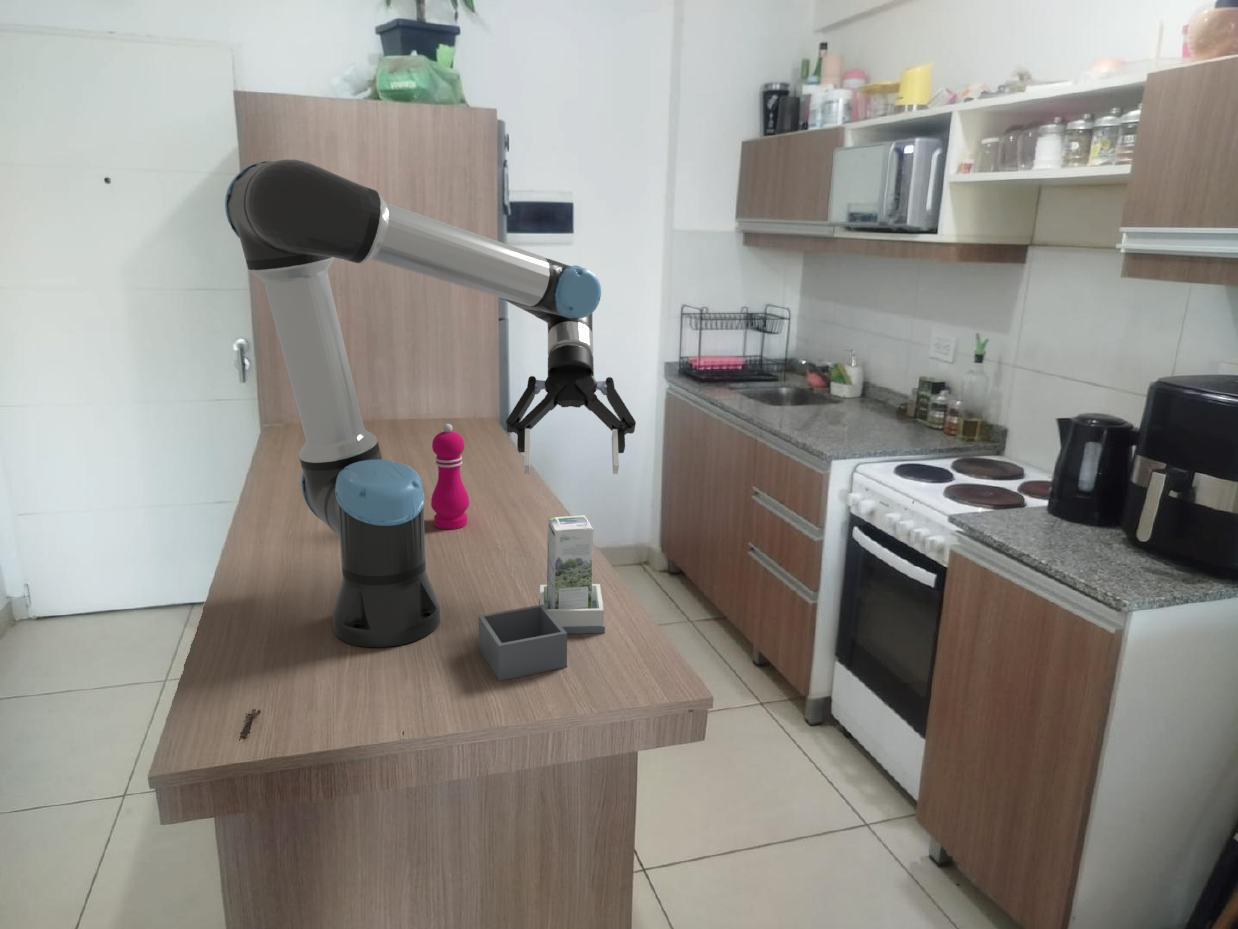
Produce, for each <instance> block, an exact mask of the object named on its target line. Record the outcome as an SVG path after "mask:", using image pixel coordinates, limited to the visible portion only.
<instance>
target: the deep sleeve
mask: <svg viewBox="0 0 1238 929" xmlns="http://www.w3.org/2000/svg"><path fill="white" fill-rule="evenodd" d="M478 646H479V647H478V648H479V651H480V652H481V653H482V655H483V657H484V658H485V660H486V662H487V663H488V665H489V666H490V668H491V670H492V671H493V673H494V675H495V676H496V678H497V679H498V681H500V682H501V681H504V680H509V679H514V678H519V677H524V676H529V675H533V674H539V673H544V672H549V671H553V670H558V669H564V668H567V667H568V633H567V632H566V631H565V630H564V629H563V628H562V626H561V625H560V624H559V623H558V622H557V621H556V619H555V618H554V617H553V616H552V615H551V613H550V612H549V611H548V610H547V609H546V608H545V606H544V605H539V604H538V605H531V606H526V607H520V608H515V609H508V610H504V611H497V612H492V613H486V614H485V613H484V614H480V615H478Z"/></svg>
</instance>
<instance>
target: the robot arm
mask: <svg viewBox="0 0 1238 929" xmlns="http://www.w3.org/2000/svg"><path fill="white" fill-rule="evenodd" d="M224 210H225V216H226V219H227V221H228V224H229V225H230V226H231V230H232V231H233V232H234V234H235V235H236V237H238V239H240V240H239V241H240V244H241V247H242V248H241V249H242V252H243V254H244V259H245V262H246V267H247V269H248V272H249V273H251V274H252V275H254V276H256V277H257V278H259V279H260V280H261V281H262V282H263V283H264V288H265V292H266V295H267V300H268V303H269V308H270V311H271V313H272V314H271V315H272V319H273V321H274V322H273V323H274V326H275V329H276V333H277V336H278V341H279V344H280V349H281V353H282V356H283V359H284V363H285V368H286V370H287V374H288V375H287V376H288V378H289V382H290V385H291V390H292V393H293V396H294V397H293V398H294V401H295V403H296V404H295V405H296V408H297V412H298V415H299V420H300V423H301V428H302V431H303V435H304V438H305V443H304V444H303V445H302V447H301V449H300V450H299V452H298V458H299V461H300V465H301V470H302V473H301V478H300V479H301V480H300V487H301V492H302V496H303V497H302V498H304V501H305V503H306V505H307V507H308V509H309V510H310V511H311V512H312V513H313V514H314V516H316V517H317V518H318V519H320V520H321V521H322V522H323V523H324V524H325V525H326V526H327V527H328V528H329V529H330V530H332V531H333V532H334V533H335V534H336V535H337V536H338V537H339V543H340V545H339V546H340V559H341V569H342V570H341V571H342V572H341V574H342V580H341V583H340V586H339V590H338V593H337V598H336V601H335V603H334V608H333V611H332V629H333V632H334V634H335V636H336V637H337V638H338V639H339V640H341V641H343V642H345V643H347V644H350V645H354V646H357V647H358V646H359V647H363V648H365V647H366V648H388V647H394V646H400V645H404V644H409V643H412V642H415V641H418V640H420V639H423V638H424V637H427V636H428V635H429V634H431V633H432V632H434V631H435V630H436V629H437V628H438V626H439V624H440V622H441V611H440V608H441V607H440V603H439V599H438V597H437V595H436V592H435V589H434V588H433V587H434V586H433V585H432V583H431V580H430V578H429V576H428V573H427V566H426V563H427V562H426V540H425V538H426V537H425V536H426V535H425V534H426V532H425V493H424V489H423V484H422V483H423V482H422V478H421V476H420V474H419V473H418V472H417V470H415V469H414V468H413V467H412V466H410V465H407V464H405V463H403V462H399V461H398V462H393V460H391V459H390V460H389V459H383V457H382V453H381V449H380V444H379V441H378V440H379V439H378V438H377V437H378V436H377V435H375V434H374V433H372V432H370V431H368V430H367V429H365V426H364V421H363V418H362V413H361V409H360V405H359V401H358V396H357V393H356V388H355V384H354V380H353V375H352V371H351V366H350V362H349V359H348V354H347V349H346V345H345V342H344V338H343V337H344V336H343V333H342V329H341V324H340V320H339V317H338V311H337V307H336V302H335V299H334V296H333V292H332V286H331V282H330V278H329V273H328V271H329V268H330V267H331V265H332V263H333V262H334V260H335V259H339V260H340V259H341V260H344V261H348V262H351V263H355V264H358V265H360V264H363V263H365V262H367V261H369V260H373V261H376V262H379V263H381V264H385V265H389V266H392V267H396V268H399V269H403V270H406V271H409V272H413V273H416V274H419V275H423V276H427V277H431V278H433V279H436V280H440V281H443V282H446V283H450V284H453V285H457V286H460V287H463V288H467V289H470V290H473V291H477V292H481V293H484V294H488V295H491V296H494V297H498V298H500V300H502V301H505V302H507V303H509V304H511V305H513V306H515V307H517V308H519V309H521V310H523V311H525V312H527V313H529V314H531V315H533V316H534V317H536V318H537V319H540V320H542V321H544V322H545V323H546V324H547V356H548V357H547V377H546V380H542V379H541V380H539V379H537V378H536V376H534V375H531V376H529V377H528V380H527V385H526V388H525V390H524V392H522V395H521V396H520V398H519V399H518V401H517V403H516V404H515V406H514V408H513V409H512V411H511V413H510V414H509V416H508V417H507V419H506V421H505V423H506V431H507V432H508V433H515V434H516V435H517V440H516V442H517V443H516V444H517V447H516V448H517V452H518V453H523V454H524V464H523V465H524V466H523V467H524V474H525V475H527V474H528V475H529V474H530V473H531V470H530V468H531V465H530V464H531V463H530V462H531V430H532V429H533V428H534V427H535V426H536V425H537V424H538V423H539V422H541V420H542V419H543V418H544V417H545V416H547V414H548V413H549V412H551V411H553V410H554V409H555V408H556V407H557V406H560V408H570V407H572V408H581V407H583V406H584V407H585V408H586V409H587V410H588V411H590V412H592V413H593V414H594V415H595V416H596V417H597V418H598V419H599V420H601V422H602V423H603V424H604V425H605V426H606V427H607V428H608V429H609V430H611V457H612V458H611V459H612V475H618V474H619V468H620V463H619V462H620V459H619V458H620V457H619V454H624V453H625V450H626V442H625V441H626V437H625V436H626V435H627V434H632V435H633V434H634V433H635V432H636V431H635V430H636V429H635V428H636V419H635V418H634V417H633V415H632V413H631V412H630V410H629V409H628V407H627V406H626V404H625V403H624V401H623V399H622V398H621V396H620V394H619V392H618V391H617V390H616V388H615V382H614V378H613V377H612V376H611V377H610V376H609V377H606V378H605V380H599V381H598V380H596V379H595V371H594V370H595V369H594V336H593V335H594V334H593V313H595V310H596V309H597V308H598V306H599V305H600V301H601V297H602V286H601V282H600V280H599V278H598V277H597V275H596V274H595V273H594V272H593V271H592V270H590V269H587V268H586V267H585V268H584V267H582V266H580V265H579V266H578V265H568V264H565V263H562V262H559V261H556V260H553V259H551V258H547V257H544V256H542V255H541V254H540V255H539V254H536V253H534V252H530V251H527V250H525V249H522V248H519V247H516V246H513V245H511V244H508V243H505V242H501V241H498V240H496V239H492V238H491V237H488V236H484V235H481V234H478V233H476V232H472V231H470V230H466V229H463V228H462V227H459V226H454V225H452V224H449V223H447V222H443V221H441V220H438V219H435V218H432V217H429V216H426V215H423V214H420V213H417V212H414V211H412V210H408V209H405V208H403V207H400V206H397V205H395V204H391V203H388V202H386V201H385V200H384V198H383V196H382V195H381V193H380V191H378V190H376V189H373V188H370V187H367V186H364V185H362V184H359V183H356V182H355V181H352V180H350V179H347V178H344V176H343V177H342V176H340V175H338V174H335V173H333V172H331V171H328V170H327V169H324V168H323V167H320V166H317V165H315V164H313V163H311V162H308V161H304V160H298V159H279V160H275V161H274V160H273V161H270V160H268V161H266V160H265V161H264V160H263V161H261V162H255V163H253V164H250V165H249V166H247V167H245V168H243V169H242V170H241V171H240V172H239V173H237V174H236V176H234V178H233V179H232V181H231V182H230V183H229V185H228V187H227V190H226V193H225V199H224ZM542 390H544V391H545V392H546V394H545V396H544V398H543V399H542V400H541V401H540V402H539V403H538V404H537V405H536V406H534V407H533V409H532V410H531V411H530V412H528V414H527V415H525V414H526V413H527V411H528V409H529V407H530V406H531V405H532V403H533V401H534V400H535V396H536V395H538V394H540V392H541V391H542ZM598 390H599V391H600V393H601V394H602V395H603V396H606V399H607V401H608V403H609V404H610V406H611V407H612V409H613V411H614V412H615V414H616V415H615V414H614V413H613V412H612V411H611V410H610V409H609V408H608V407H607V406H606V405H605V404H604V403H603V401H601V400H600V399H599V398H598V396H597V395H596V393H597V392H596V391H598ZM524 415H525V416H524Z"/></svg>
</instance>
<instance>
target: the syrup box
mask: <svg viewBox="0 0 1238 929" xmlns="http://www.w3.org/2000/svg"><path fill="white" fill-rule="evenodd" d="M593 558H594V528H593V527H592V525H591V523H590V520H588V518H587V517H586V515H584V514H583V515H571V516H570V515H568V516H555V517H548V518H547V564H546V565H547V566H546V567H547V571H546V572H547V577H546V578H547V579H546V580H547V582H546V585H547V604H548V607H549V609H591V605H592V584H593V563H594V562H593V561H594V560H593Z"/></svg>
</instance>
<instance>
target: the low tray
mask: <svg viewBox="0 0 1238 929" xmlns="http://www.w3.org/2000/svg"><path fill="white" fill-rule="evenodd" d="M538 605H544V606H545V608H546V609H547V610H548V611H549V612H550V613H551V615H552V616H553V617H554V618H555V619H556V621H557V622H558V623H559V624H560V625H561V626H562V628H563V629H564V630H565V631H566V632H567V634H605V632H606V631H605V630H606V625H605V624H606V623H605V619H604V618H605V616H604V614H605V613H604V612H605V610H604V603H603V596H602V589H601V584H600V583H592V605H591V609H549V607H548V604H547V584H539V599H538Z"/></svg>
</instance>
